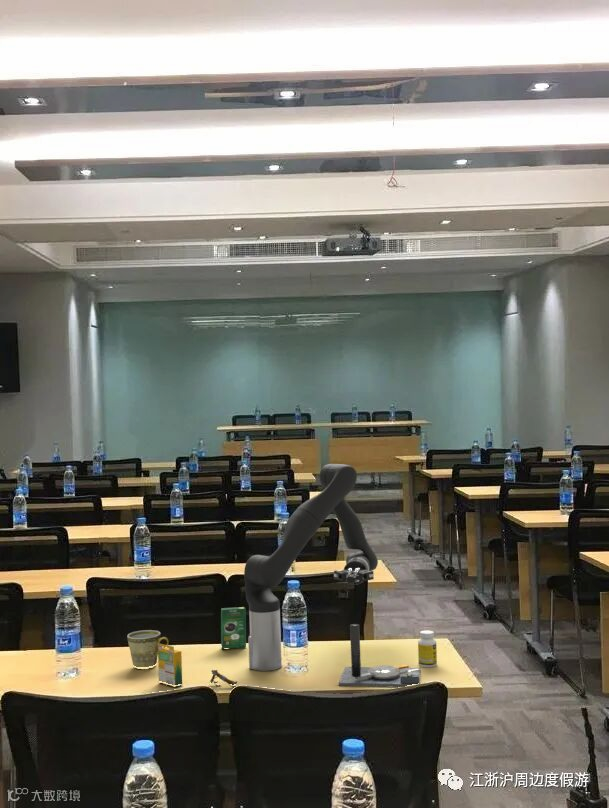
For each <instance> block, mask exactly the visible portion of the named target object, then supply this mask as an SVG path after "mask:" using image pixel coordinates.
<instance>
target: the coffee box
mask: <svg viewBox="0 0 609 808" xmlns="http://www.w3.org/2000/svg"><path fill="white" fill-rule="evenodd" d="M246 610H247V609H246V607H245V606H241V607H236V606H235V607H224V608H222V607H221V609H220V636H221V637H220V640H221V641H220V643H221V645H220V646H222V647H221V649H222V648H223V649H224V648H236V649H246V648H247V636H246V635H247V632H246V630H247V629H246V628H247V622H246V621H247V619H246V618H247V614H246V612H247V611H246ZM245 647H246V648H245Z"/></svg>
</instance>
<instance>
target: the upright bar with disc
mask: <svg viewBox="0 0 609 808" xmlns="http://www.w3.org/2000/svg"><path fill="white" fill-rule="evenodd" d="M349 630H350V631H349V632H350V633H349V636H350V639H349V640H350V663H351V666H350V667H351V669H352V676H353V677H355V679H357V680H360V679H365V678H370V677H371V678H374V679H393V678H397V677H399V676H400V669H405V668H410V667H409V665H408V664H403V665H399V666H394V665H393V666H392V665H377V666H376V665H375V666H370V667H371V668H369V669H368V673H366V674H361V667H362V664H361V662H362V661H361V639H360V638H361V636H360V635H361V633H360V624H358V623H353V624H349Z"/></svg>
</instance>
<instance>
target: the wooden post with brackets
mask: <svg viewBox="0 0 609 808" xmlns="http://www.w3.org/2000/svg"><path fill="white" fill-rule="evenodd" d="M210 673H211V674H212V677H211V679H210V681H209V683H210V682H211V683H212V684H215V683H217V682H219V681H218V680H217V681H216V680H215V679H217V678H218V679H219V680H221V681H223V682H225V683H226V684H228V685H229V684H232V685H234V684H236V685H237V684H238V681H237V680H235V681H234V680H232V679H229V678H227V677H226V676H225V675H223V674H221V673H220V672H219V671H218V669H212V670H211V672H210ZM214 680H215V681H214Z"/></svg>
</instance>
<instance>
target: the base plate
mask: <svg viewBox="0 0 609 808" xmlns="http://www.w3.org/2000/svg"><path fill="white" fill-rule="evenodd" d="M371 667H372V666H361V674H366V673H368V669H369V668H371ZM421 670H422V669H421V667H409V668H405V669H400V676H399V677H397V678H393V679H374V678H371V677H370V678H365V679H360V680H357V679H355V677H353V676H352V669H351V666H344V669H343V671H342V673H341V677H340V678H339V681H338V687H349V686H350V687H383V688H384V687H386V686H393V687H395V688H398V686H407V685H412V684H418V683H419V684H420V680H421ZM393 687H392V688H393Z"/></svg>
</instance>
